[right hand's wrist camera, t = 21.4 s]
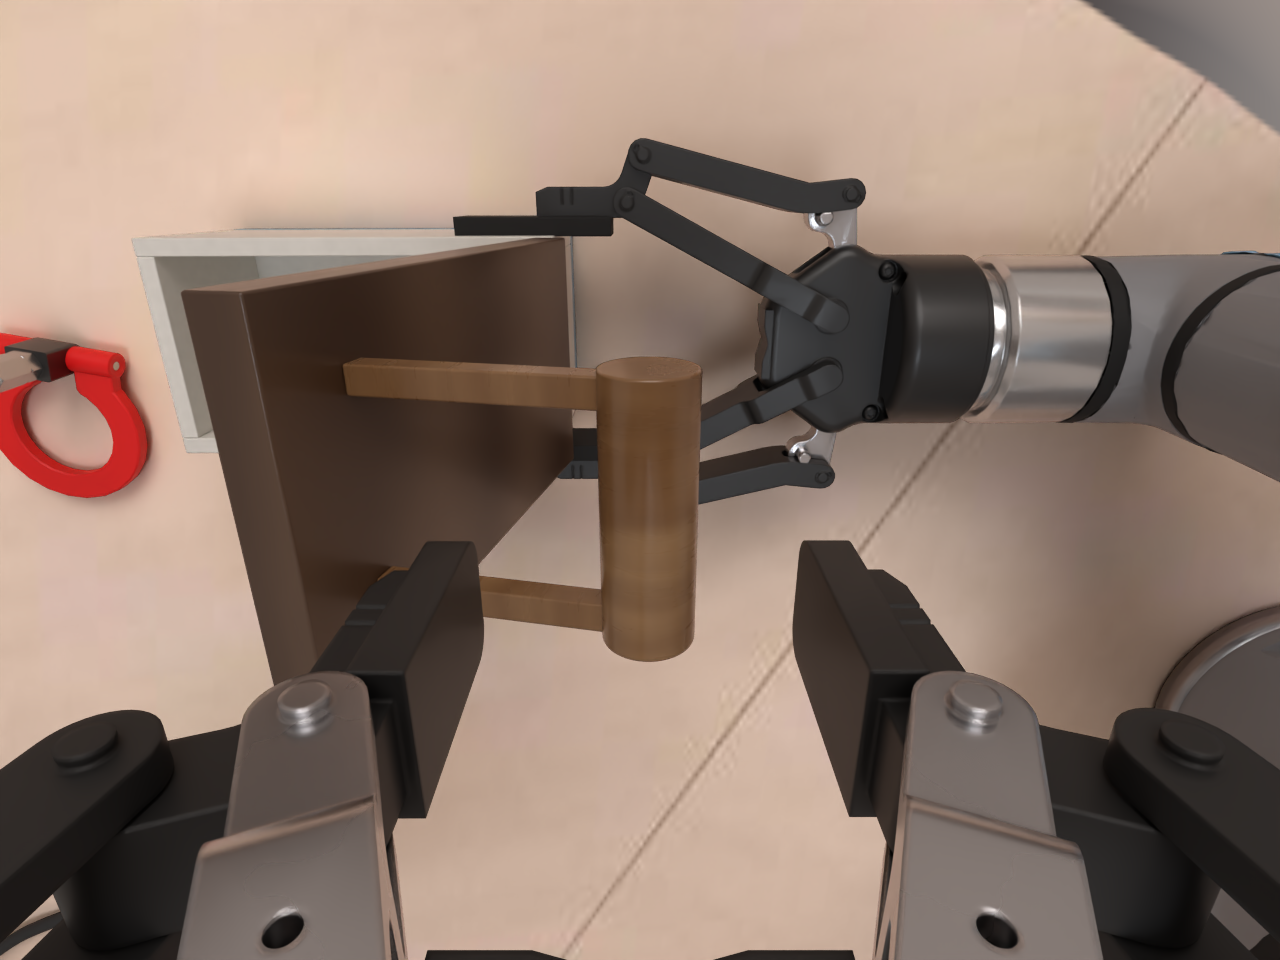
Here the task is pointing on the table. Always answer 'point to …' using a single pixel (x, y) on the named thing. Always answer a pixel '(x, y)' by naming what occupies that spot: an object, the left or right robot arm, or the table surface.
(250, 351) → the lid
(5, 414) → the tow hook
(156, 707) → the table surface
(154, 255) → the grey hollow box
